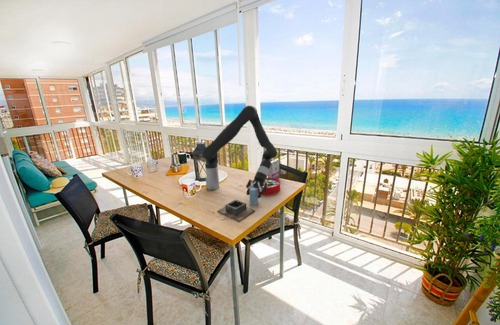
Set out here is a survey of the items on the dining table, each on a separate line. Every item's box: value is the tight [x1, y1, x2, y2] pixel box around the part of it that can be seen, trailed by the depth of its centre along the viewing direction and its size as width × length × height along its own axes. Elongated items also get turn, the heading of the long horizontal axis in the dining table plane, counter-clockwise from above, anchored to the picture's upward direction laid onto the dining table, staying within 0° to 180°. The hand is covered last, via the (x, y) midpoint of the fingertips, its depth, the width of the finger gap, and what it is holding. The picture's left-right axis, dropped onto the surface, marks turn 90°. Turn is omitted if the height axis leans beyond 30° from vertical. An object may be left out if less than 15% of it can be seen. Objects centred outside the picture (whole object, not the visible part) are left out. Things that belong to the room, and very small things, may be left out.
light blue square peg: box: [248, 187, 259, 206], centre depth 127 cm, size 4×4×10 cm
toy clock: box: [258, 177, 281, 196], centre depth 148 cm, size 20×6×20 cm
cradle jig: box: [217, 199, 256, 223], centre depth 118 cm, size 18×14×5 cm
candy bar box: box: [267, 158, 280, 180], centre depth 166 cm, size 11×5×16 cm, turn 139°
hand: (252, 196), depth 126 cm, fingers open, 8 cm apart
